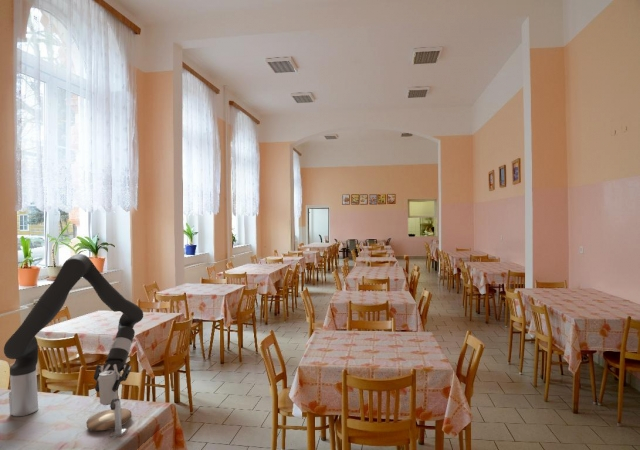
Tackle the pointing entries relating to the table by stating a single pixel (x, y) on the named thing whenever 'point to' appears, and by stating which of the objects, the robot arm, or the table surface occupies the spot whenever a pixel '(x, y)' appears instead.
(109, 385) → the beverage can
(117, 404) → the stand
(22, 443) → the table surface
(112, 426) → the disc
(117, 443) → the table surface
